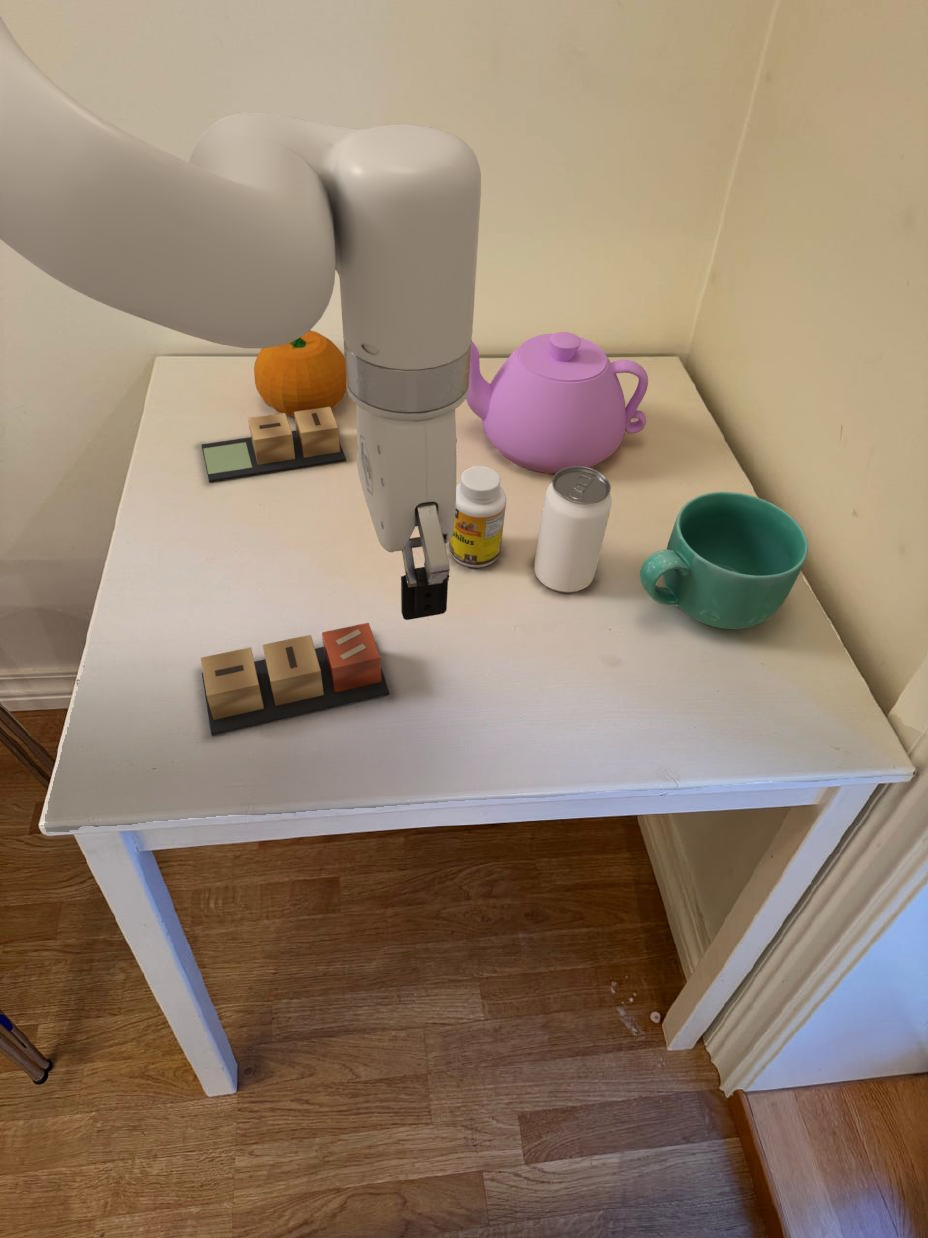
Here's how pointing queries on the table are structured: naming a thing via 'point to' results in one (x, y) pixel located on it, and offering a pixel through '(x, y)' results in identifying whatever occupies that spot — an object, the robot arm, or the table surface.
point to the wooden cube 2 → (293, 670)
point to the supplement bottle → (478, 517)
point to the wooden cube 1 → (231, 683)
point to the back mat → (241, 460)
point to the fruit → (301, 374)
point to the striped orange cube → (352, 657)
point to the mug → (728, 560)
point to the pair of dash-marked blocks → (277, 440)
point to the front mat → (294, 708)
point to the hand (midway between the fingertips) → (408, 567)
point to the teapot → (556, 403)
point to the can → (572, 528)
